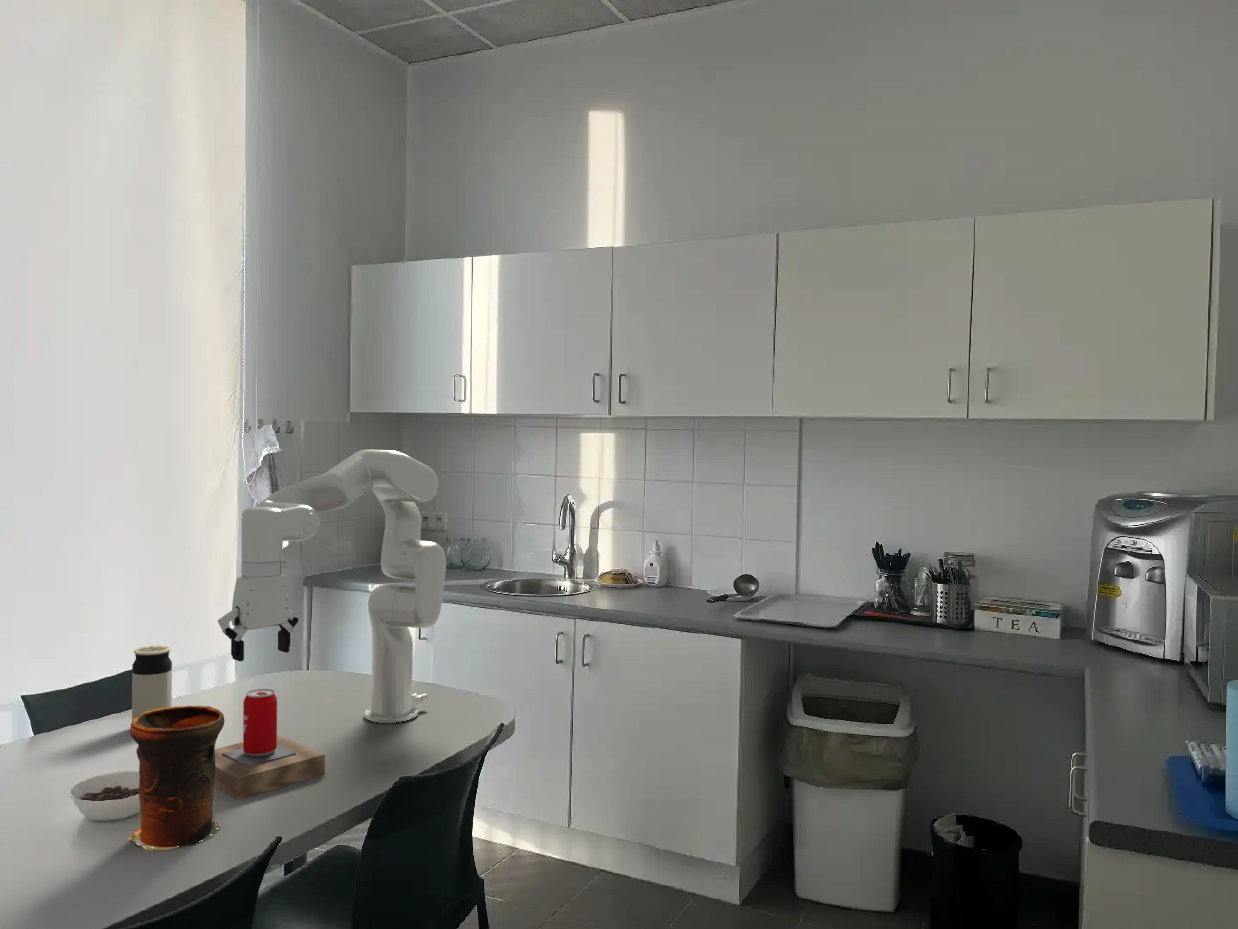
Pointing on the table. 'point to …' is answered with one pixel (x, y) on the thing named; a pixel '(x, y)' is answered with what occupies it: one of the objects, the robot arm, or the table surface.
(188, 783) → the vessel
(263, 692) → the beverage can
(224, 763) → the walnut plinth
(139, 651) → the travel mug
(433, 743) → the table surface
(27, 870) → the table surface
